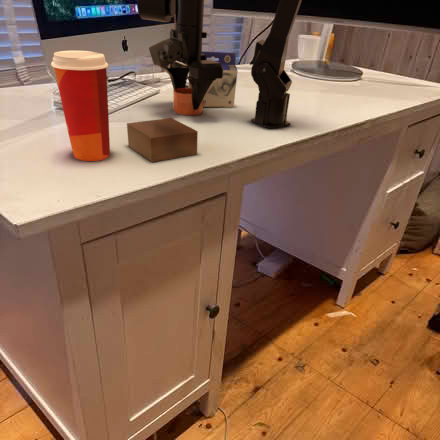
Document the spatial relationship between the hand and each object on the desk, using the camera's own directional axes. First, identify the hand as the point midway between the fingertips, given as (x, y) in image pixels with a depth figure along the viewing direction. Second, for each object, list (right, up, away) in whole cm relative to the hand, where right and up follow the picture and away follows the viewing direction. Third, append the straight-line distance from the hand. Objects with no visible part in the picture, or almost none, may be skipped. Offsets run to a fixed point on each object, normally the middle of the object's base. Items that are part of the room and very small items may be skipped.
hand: (187, 105), depth 95 cm
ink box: (+5, +3, +6) cm, 9 cm away
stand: (-3, -17, -21) cm, 27 cm away
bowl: (0, -1, +1) cm, 1 cm away
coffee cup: (-14, -20, -24) cm, 34 cm away
